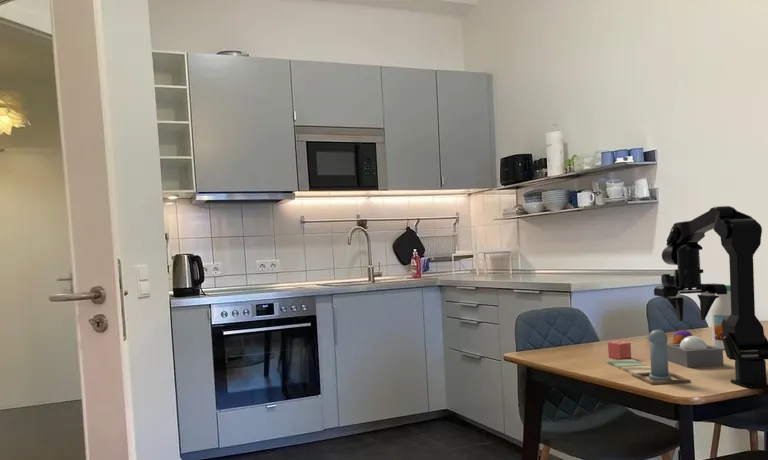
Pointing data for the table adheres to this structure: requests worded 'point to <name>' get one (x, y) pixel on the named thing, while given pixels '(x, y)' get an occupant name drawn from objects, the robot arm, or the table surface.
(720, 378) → the table surface
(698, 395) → the table surface
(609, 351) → the red block
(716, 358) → the grey open box
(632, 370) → the game track
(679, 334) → the maraca
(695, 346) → the dome
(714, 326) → the milk bottle
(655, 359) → the pawn
